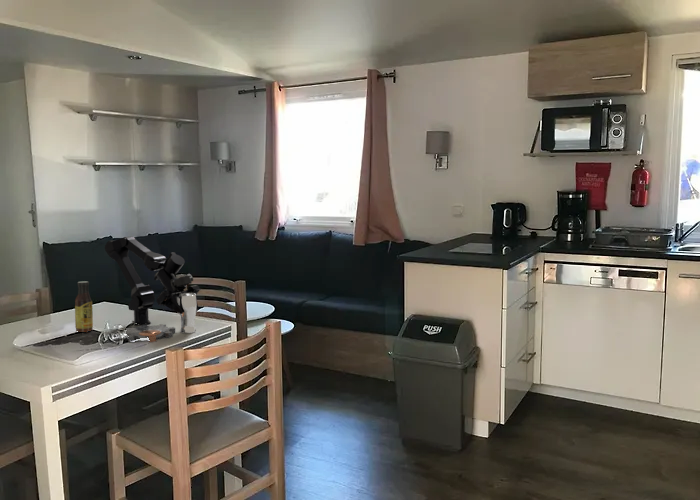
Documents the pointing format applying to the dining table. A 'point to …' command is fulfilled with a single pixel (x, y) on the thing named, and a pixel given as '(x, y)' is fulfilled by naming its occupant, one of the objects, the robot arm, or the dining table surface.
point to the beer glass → (187, 312)
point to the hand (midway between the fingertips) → (190, 311)
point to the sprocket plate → (150, 332)
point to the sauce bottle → (83, 308)
